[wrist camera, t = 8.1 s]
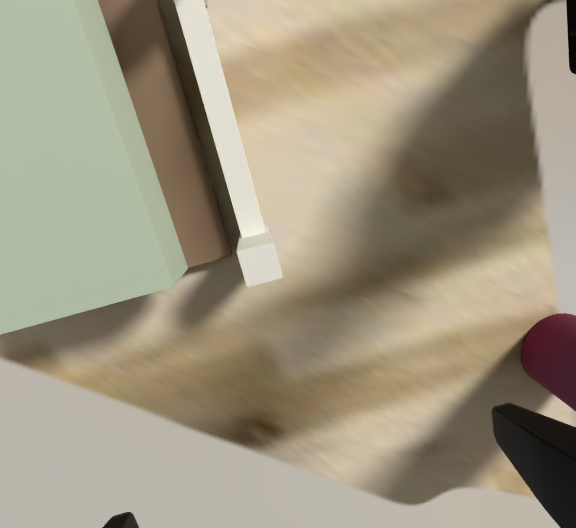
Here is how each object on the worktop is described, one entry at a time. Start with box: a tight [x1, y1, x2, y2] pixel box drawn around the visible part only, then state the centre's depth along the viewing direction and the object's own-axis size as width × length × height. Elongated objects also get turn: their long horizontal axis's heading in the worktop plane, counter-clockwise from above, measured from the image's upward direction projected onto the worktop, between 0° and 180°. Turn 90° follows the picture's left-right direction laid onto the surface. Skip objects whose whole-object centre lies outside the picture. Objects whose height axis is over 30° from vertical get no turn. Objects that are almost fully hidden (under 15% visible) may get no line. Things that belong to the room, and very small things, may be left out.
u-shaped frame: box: [172, 0, 283, 287], centre depth 15 cm, size 2×14×6 cm, turn 14°
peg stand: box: [98, 0, 232, 268], centre depth 16 cm, size 10×13×4 cm
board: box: [0, 0, 188, 335], centre depth 12 cm, size 12×6×3 cm, turn 14°
